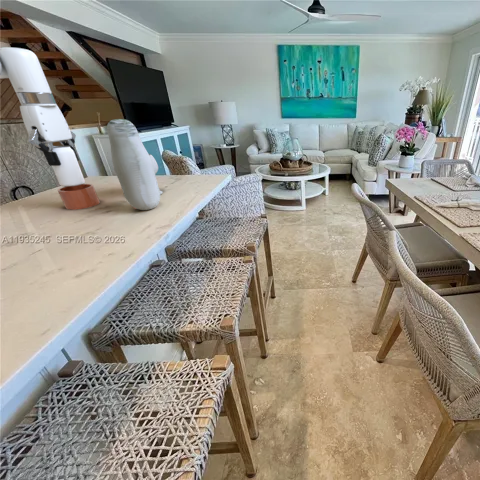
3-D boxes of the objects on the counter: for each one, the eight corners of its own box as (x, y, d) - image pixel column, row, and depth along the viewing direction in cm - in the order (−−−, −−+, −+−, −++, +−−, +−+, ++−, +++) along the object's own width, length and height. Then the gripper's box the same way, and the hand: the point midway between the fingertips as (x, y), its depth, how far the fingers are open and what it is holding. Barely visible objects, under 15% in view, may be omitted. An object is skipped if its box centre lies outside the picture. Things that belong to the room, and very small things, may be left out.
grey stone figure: (169, 206, 92) (145, 118, 79) (138, 216, 84) (106, 120, 71) (154, 201, 97) (129, 117, 84) (124, 210, 89) (91, 119, 76)
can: (65, 183, 89) (50, 145, 84) (88, 181, 91) (75, 145, 86) (56, 187, 84) (39, 147, 79) (81, 185, 86) (66, 147, 81)
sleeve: (75, 213, 86) (66, 193, 83) (61, 209, 90) (51, 189, 87) (106, 205, 94) (98, 185, 90) (92, 201, 97) (84, 182, 94)
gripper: (49, 100, 84) (73, 158, 92) (-8, 99, 69) (27, 169, 77) (74, 100, 85) (95, 158, 93) (23, 99, 69) (54, 168, 77)
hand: (64, 162), depth 85 cm, fingers closed on can, 6 cm apart
